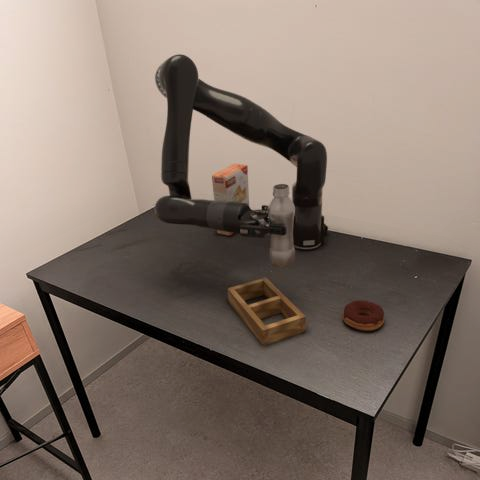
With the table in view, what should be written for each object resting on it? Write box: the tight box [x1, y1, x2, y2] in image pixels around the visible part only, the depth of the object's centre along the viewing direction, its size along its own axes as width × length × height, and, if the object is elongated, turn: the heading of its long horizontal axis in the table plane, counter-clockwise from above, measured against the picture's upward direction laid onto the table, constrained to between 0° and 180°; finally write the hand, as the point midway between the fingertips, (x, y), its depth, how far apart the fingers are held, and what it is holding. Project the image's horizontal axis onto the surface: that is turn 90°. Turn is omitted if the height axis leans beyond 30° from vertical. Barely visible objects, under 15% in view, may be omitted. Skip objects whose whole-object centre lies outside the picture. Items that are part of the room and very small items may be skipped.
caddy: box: [227, 277, 307, 346], centre depth 115 cm, size 11×21×4 cm, turn 24°
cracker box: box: [211, 163, 250, 237], centre depth 157 cm, size 14×6×21 cm, turn 148°
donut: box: [342, 300, 385, 332], centre depth 111 cm, size 10×10×4 cm
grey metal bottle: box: [267, 183, 296, 268], centre depth 109 cm, size 6×7×20 cm
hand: (290, 225), depth 107 cm, fingers closed on grey metal bottle, 6 cm apart
